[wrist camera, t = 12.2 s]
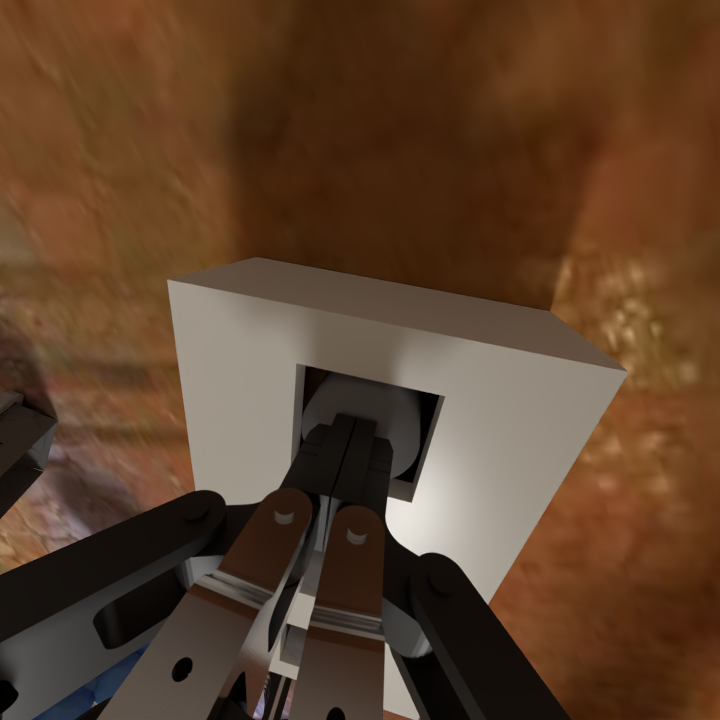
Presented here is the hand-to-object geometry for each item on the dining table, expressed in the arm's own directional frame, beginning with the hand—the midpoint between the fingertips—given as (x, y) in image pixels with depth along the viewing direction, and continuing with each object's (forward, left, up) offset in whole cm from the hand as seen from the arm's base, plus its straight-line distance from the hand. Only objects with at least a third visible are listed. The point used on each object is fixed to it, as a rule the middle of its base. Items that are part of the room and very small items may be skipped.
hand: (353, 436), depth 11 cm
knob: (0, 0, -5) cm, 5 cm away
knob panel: (0, +9, -6) cm, 10 cm away
